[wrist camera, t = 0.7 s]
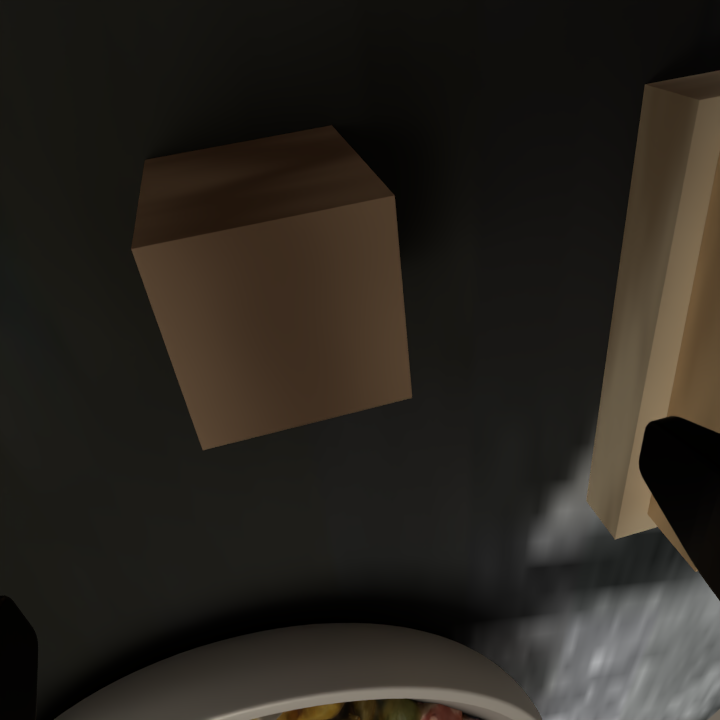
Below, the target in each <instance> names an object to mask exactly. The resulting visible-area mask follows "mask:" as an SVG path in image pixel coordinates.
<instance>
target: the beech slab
mask: <svg viewBox="0 0 720 720" xmlns="http://www.w3.org/2000/svg"><path fill="white" fill-rule="evenodd" d="M719 152H720V70H719V71H714V72H708V73H703V74H698V75H692V76H687V77H682V78H676V79H671V80H666V81H660V82H655V83H650V84H645V88H644V95H643V102H642V109H641V116H640V123H639V130H638V138H637V145H636V152H635V159H634V166H633V173H632V180H631V187H630V194H629V201H628V209H627V216H626V223H625V230H624V237H623V244H622V251H621V258H620V265H619V272H618V280H617V287H616V294H615V301H614V308H613V315H612V322H611V329H610V336H609V343H608V351H607V358H606V365H605V372H604V379H603V386H602V393H601V400H600V407H599V414H598V422H597V429H596V436H595V443H594V450H593V457H592V464H591V471H590V478H589V485H588V493H587V500H586V501H587V502H588V504H589V505H590V506H591V508H592V509H593V510H594V512H595V513H596V514H597V516H598V517H599V518H600V520H601V521H602V523H603V524H604V525H605V527H606V528H607V529H608V531H609V532H610V533H611V535H612V536H613V537H614V539H618V538H621V537H625V536H628V535H631V534H635V533H638V532H642V531H645V530H648V529H652V528H655V527H658V526H657V525H656V524H655V523H654V522H653V520H652V519H651V518H650V517H649V516H648V514H647V513H648V508H649V503H650V498H651V492H650V490H649V488H648V486H647V485H646V483H645V481H644V480H643V478H642V476H641V473H640V470H639V456H640V451H641V446H642V441H643V436H644V431H645V427H646V426H647V424H648V423H649V422H651V421H654V420H658V419H661V418H665V417H667V413H668V408H669V403H670V398H671V393H672V388H673V383H674V378H675V373H676V368H677V363H678V358H679V353H680V348H681V343H682V338H683V333H684V328H685V323H686V318H687V313H688V308H689V303H690V298H691V293H692V288H693V282H694V277H695V272H696V267H697V262H698V257H699V252H700V247H701V242H702V237H703V232H704V227H705V222H706V217H707V212H708V207H709V202H710V197H711V192H712V187H713V182H714V177H715V172H716V167H717V162H718V157H719Z"/></svg>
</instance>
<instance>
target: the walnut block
mask: <svg viewBox="0 0 720 720" xmlns="http://www.w3.org/2000/svg"><path fill="white" fill-rule="evenodd" d="M131 250H132V252H133V255H134V258H135V261H136V264H137V266H138V269H139V272H140V275H141V278H142V280H143V283H144V286H145V289H146V292H147V294H148V297H149V300H150V303H151V306H152V309H153V311H154V314H155V317H156V320H157V323H158V325H159V328H160V331H161V334H162V337H163V339H164V342H165V345H166V348H167V351H168V353H169V356H170V359H171V362H172V365H173V368H174V370H175V373H176V376H177V379H178V382H179V384H180V387H181V390H182V393H183V396H184V398H185V401H186V404H187V407H188V410H189V412H190V415H191V418H192V421H193V424H194V427H195V429H196V432H197V435H198V438H199V441H200V443H201V446H202V449H203V450H205V449H209V448H213V447H217V446H221V445H225V444H229V443H233V442H237V441H241V440H245V439H249V438H253V437H257V436H261V435H265V434H269V433H273V432H277V431H281V430H285V429H289V428H293V427H297V426H301V425H305V424H309V423H313V422H317V421H321V420H325V419H329V418H333V417H337V416H341V415H345V414H349V413H353V412H357V411H361V410H365V409H369V408H373V407H377V406H381V405H385V404H389V403H393V402H397V401H401V400H405V399H409V398H412V391H411V379H410V368H409V356H408V344H407V333H406V321H405V310H404V298H403V286H402V275H401V263H400V252H399V240H398V228H397V217H396V205H395V195H394V194H393V193H392V192H391V191H390V190H389V189H388V187H387V186H386V185H385V184H384V183H383V182H382V181H381V180H380V179H379V177H378V176H377V175H376V174H375V173H374V172H373V171H372V170H371V169H370V167H369V166H368V165H367V164H366V163H365V162H364V161H363V160H362V158H361V157H360V156H359V155H358V154H357V153H356V152H355V151H354V150H353V148H352V147H351V146H350V145H349V144H348V143H347V142H346V141H345V139H344V138H343V137H342V136H341V135H340V134H339V133H338V132H337V131H336V129H335V128H334V127H333V126H332V125H331V126H325V127H320V128H314V129H309V130H304V131H298V132H293V133H287V134H282V135H277V136H271V137H266V138H260V139H255V140H250V141H244V142H239V143H233V144H228V145H223V146H217V147H212V148H206V149H201V150H196V151H190V152H185V153H179V154H174V155H169V156H163V157H158V158H152V159H147V160H145V163H144V169H143V176H142V182H141V189H140V195H139V202H138V209H137V215H136V222H135V228H134V235H133V241H132V248H131Z"/></svg>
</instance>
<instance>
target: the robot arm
mask: <svg viewBox="0 0 720 720" xmlns="http://www.w3.org/2000/svg"><path fill="white" fill-rule="evenodd" d="M639 470H640V473H641V476H642V478H643V480H644V481H645V483H646V485H647V486H648V488H649V490H650V492H651V493H652V495H653V497H654V498H655V500H656V502H657V503H658V505H659V507H660V509H661V510H662V512H663V514H664V515H665V517H666V519H667V521H668V522H669V524H670V526H671V527H672V529H673V531H674V532H675V534H676V536H677V538H678V539H679V541H680V543H681V544H682V546H683V548H684V549H685V551H686V553H687V554H688V556H689V558H690V559H691V561H692V562H693V564H694V566H695V567H696V568H697V570H698V571H699V573H700V574H701V576H702V577H703V578H704V580H705V581H706V583H707V584H708V585H709V587H710V588H711V590H712V591H713V592H714V594H715V595H716V596H717V598H718V599H719V600H720V433H718V432H715V431H713V430H710V429H708V428H706V427H703V426H701V425H698V424H696V423H693V422H691V421H689V420H686V419H684V418H681V417H678V416H669V417H665V418H661V419H658V420H654V421H651V422H649V423H648V424H647V426H646V427H645V431H644V436H643V441H642V446H641V451H640V456H639ZM37 669H38V641H37V636H36V633H35V631H34V629H33V627H32V626H31V625H30V623H29V622H28V620H27V619H26V618H25V616H24V615H23V614H22V612H21V611H20V610H19V608H18V607H17V605H16V604H15V603H14V601H13V600H12V599H11V598H9V597H7V596H5V595H4V596H0V720H36V703H37Z"/></svg>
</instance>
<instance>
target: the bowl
mask: <svg viewBox="0 0 720 720" xmlns="http://www.w3.org/2000/svg"><path fill="white" fill-rule="evenodd" d="M54 720H542V718H541V716H540V714H539V712H538V710H537V709H536V707H535V706H534V704H533V703H532V701H531V700H530V698H529V697H528V695H527V694H526V693H525V692H524V690H523V689H522V688H521V687H520V686H519V685H518V684H517V683H516V681H515V680H514V679H513V678H512V677H511V676H510V675H508V674H507V673H506V672H505V671H504V670H503V669H501V668H500V667H499V666H498V665H497V664H495V663H494V662H492V661H491V660H489V659H488V658H486V657H485V656H483V655H482V654H480V653H478V652H476V651H474V650H472V649H471V648H469V647H467V646H465V645H462V644H460V643H458V642H455V641H453V640H450V639H447V638H445V637H442V636H439V635H436V634H432V633H428V632H424V631H420V630H415V629H410V628H405V627H399V626H392V625H383V624H370V623H325V624H311V625H300V626H292V627H284V628H277V629H272V630H266V631H260V632H255V633H251V634H246V635H241V636H237V637H233V638H229V639H225V640H221V641H217V642H214V643H211V644H207V645H204V646H201V647H197V648H194V649H191V650H189V651H186V652H183V653H180V654H177V655H174V656H172V657H169V658H166V659H164V660H161V661H159V662H156V663H154V664H152V665H149V666H147V667H145V668H142V669H140V670H138V671H136V672H134V673H131V674H129V675H127V676H125V677H123V678H121V679H119V680H117V681H115V682H113V683H111V684H109V685H108V686H106V687H104V688H102V689H100V690H98V691H97V692H95V693H93V694H92V695H90V696H88V697H87V698H85V699H83V700H82V701H80V702H79V703H77V704H76V705H74V706H73V707H71V708H69V709H68V710H66V711H65V712H63V713H62V714H61V715H59V716H58V717H57V718H55V719H54Z"/></svg>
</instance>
